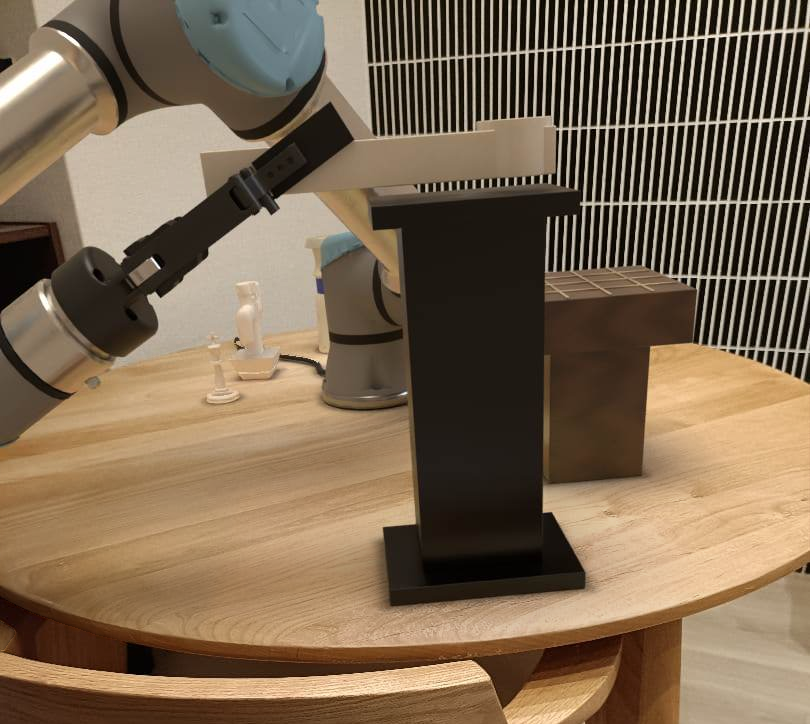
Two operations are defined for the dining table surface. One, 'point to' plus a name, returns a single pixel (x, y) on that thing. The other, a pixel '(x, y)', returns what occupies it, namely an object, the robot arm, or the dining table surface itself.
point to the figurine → (252, 335)
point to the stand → (475, 393)
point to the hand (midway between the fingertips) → (342, 121)
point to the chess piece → (219, 374)
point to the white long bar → (414, 158)
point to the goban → (604, 365)
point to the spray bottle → (319, 291)
